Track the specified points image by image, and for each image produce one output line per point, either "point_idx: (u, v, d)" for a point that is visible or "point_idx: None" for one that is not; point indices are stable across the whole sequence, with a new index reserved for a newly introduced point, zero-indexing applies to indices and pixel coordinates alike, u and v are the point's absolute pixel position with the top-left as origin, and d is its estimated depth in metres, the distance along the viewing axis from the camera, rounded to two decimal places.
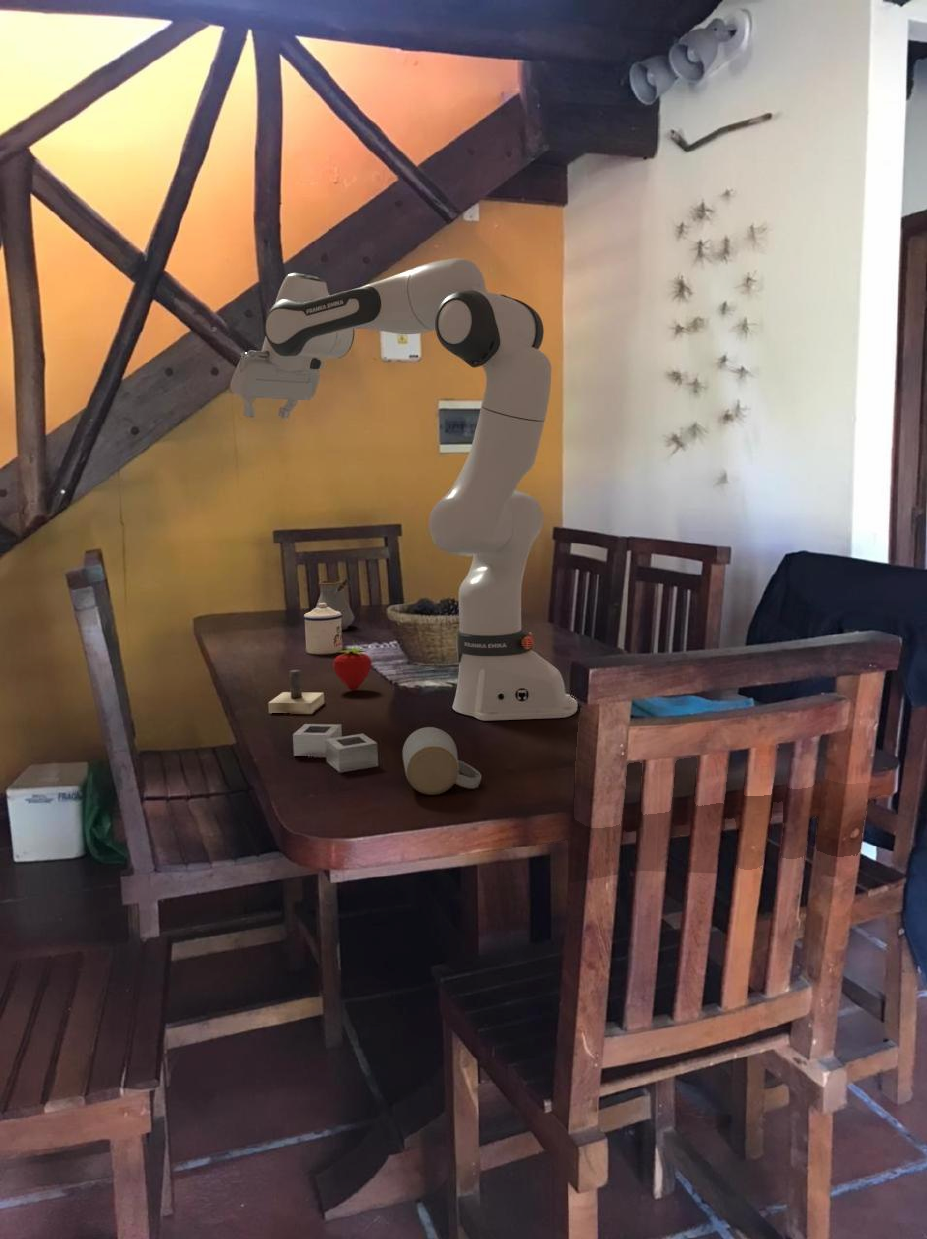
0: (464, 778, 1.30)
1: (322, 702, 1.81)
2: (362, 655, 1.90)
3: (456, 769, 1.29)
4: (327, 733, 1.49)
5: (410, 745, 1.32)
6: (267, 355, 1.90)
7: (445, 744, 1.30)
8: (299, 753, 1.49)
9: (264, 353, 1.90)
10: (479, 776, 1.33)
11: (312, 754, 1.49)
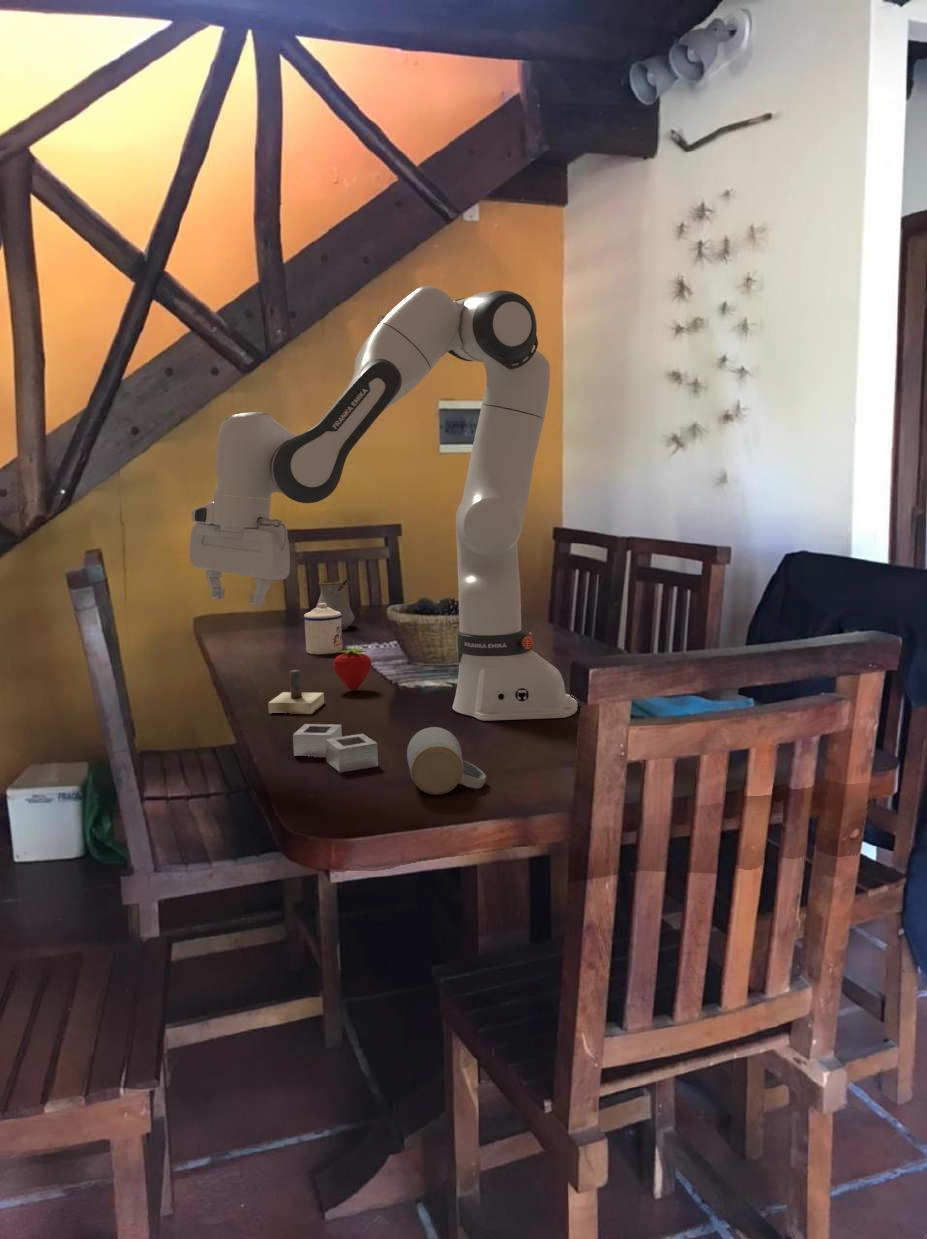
0: (469, 778, 1.30)
1: (322, 702, 1.81)
2: (362, 655, 1.90)
3: (461, 769, 1.29)
4: (327, 733, 1.49)
5: (415, 745, 1.32)
6: None
7: (450, 744, 1.30)
8: (299, 753, 1.49)
9: None
10: (483, 776, 1.33)
11: (312, 754, 1.49)
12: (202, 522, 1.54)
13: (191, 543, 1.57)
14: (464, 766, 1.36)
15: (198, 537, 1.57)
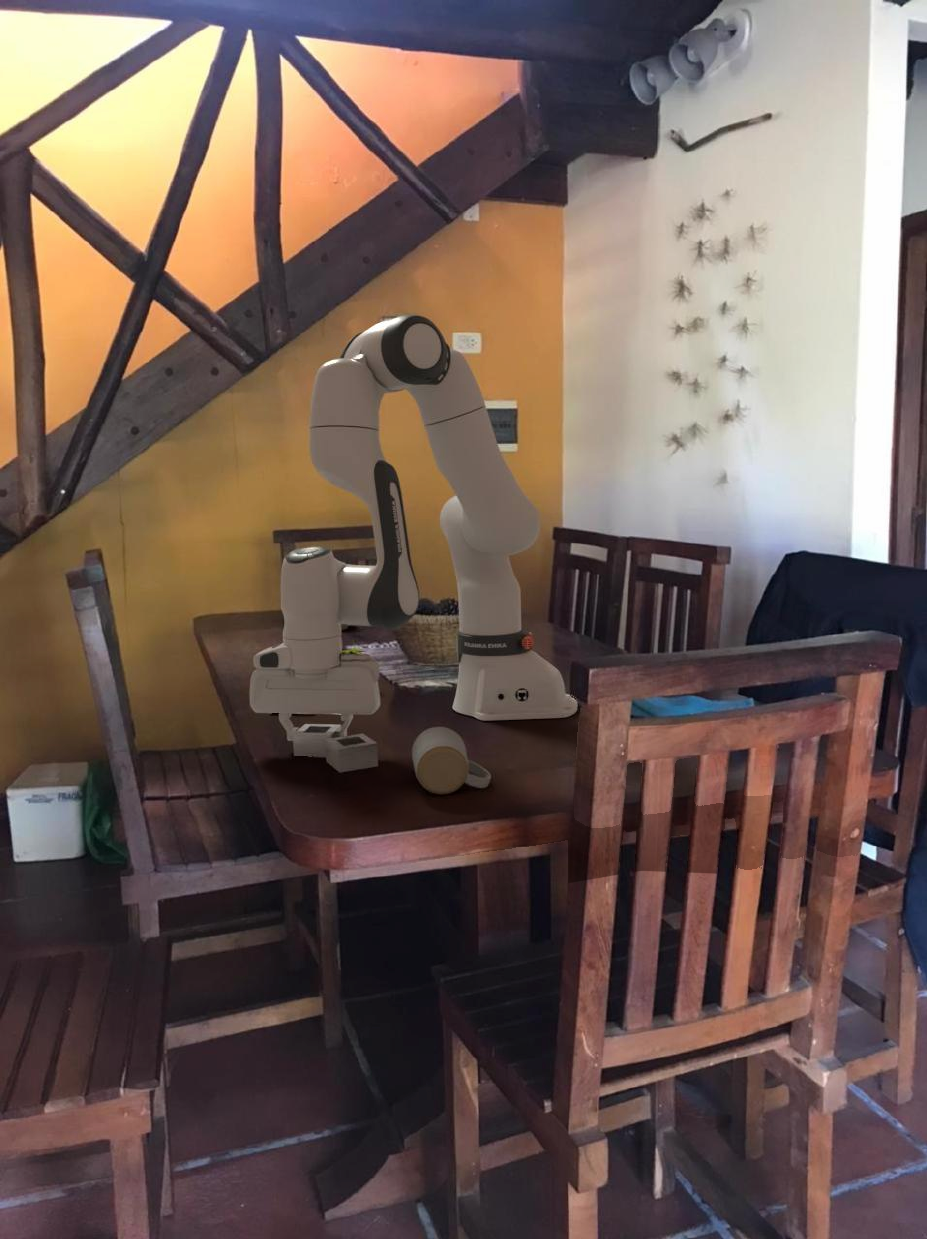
0: (474, 777, 1.30)
1: None
2: None
3: (466, 769, 1.29)
4: (327, 733, 1.49)
5: (420, 745, 1.32)
6: None
7: (455, 744, 1.30)
8: (299, 753, 1.49)
9: None
10: (489, 776, 1.34)
11: (312, 754, 1.49)
12: (272, 668, 1.47)
13: (253, 689, 1.49)
14: (469, 766, 1.36)
15: (262, 682, 1.49)
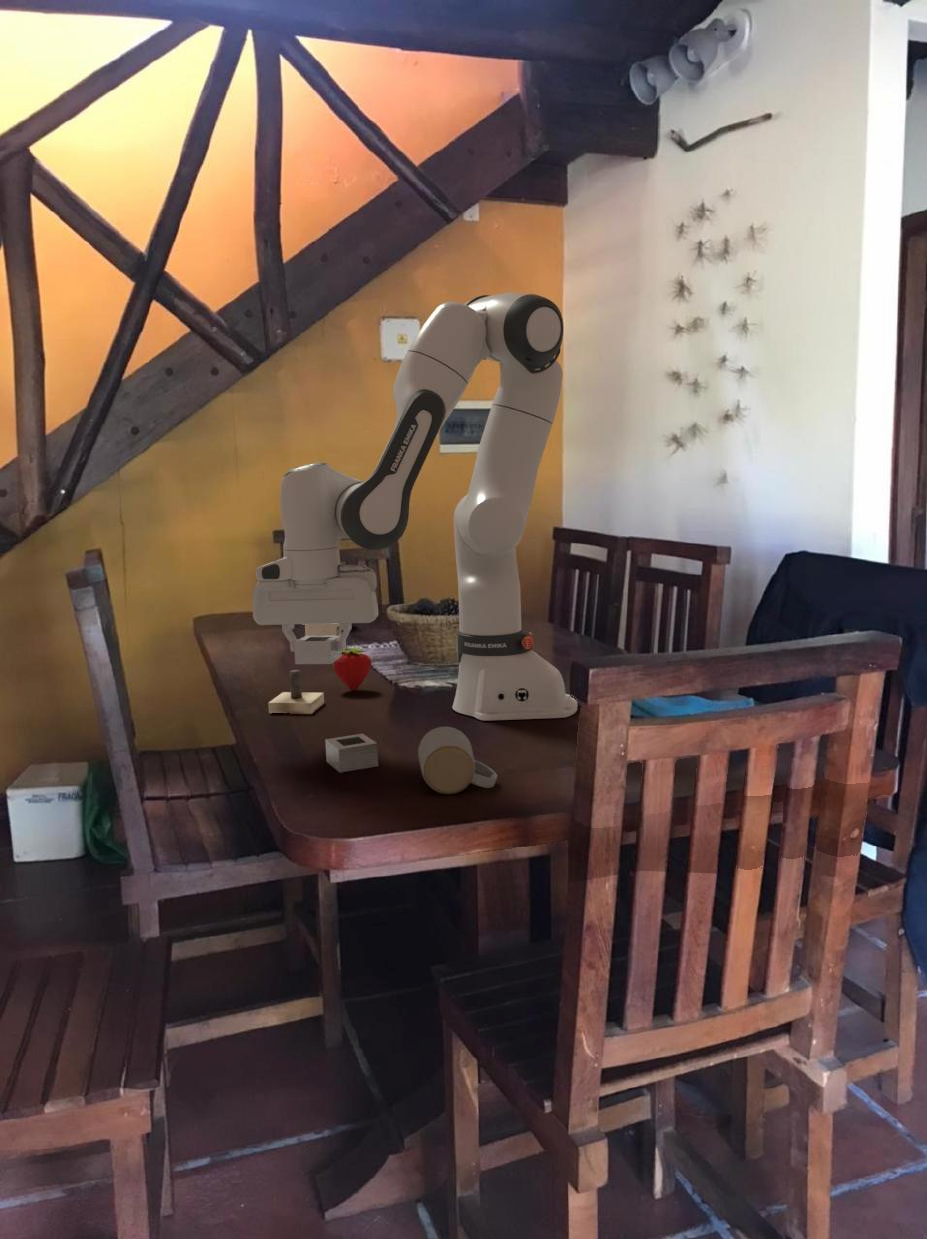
0: (481, 777, 1.31)
1: (322, 702, 1.81)
2: (362, 655, 1.90)
3: (472, 768, 1.29)
4: (327, 641, 1.55)
5: (426, 744, 1.32)
6: None
7: (461, 743, 1.31)
8: (300, 661, 1.55)
9: None
10: (495, 775, 1.34)
11: (313, 661, 1.55)
12: (274, 579, 1.53)
13: (255, 601, 1.55)
14: (475, 765, 1.36)
15: (264, 594, 1.55)
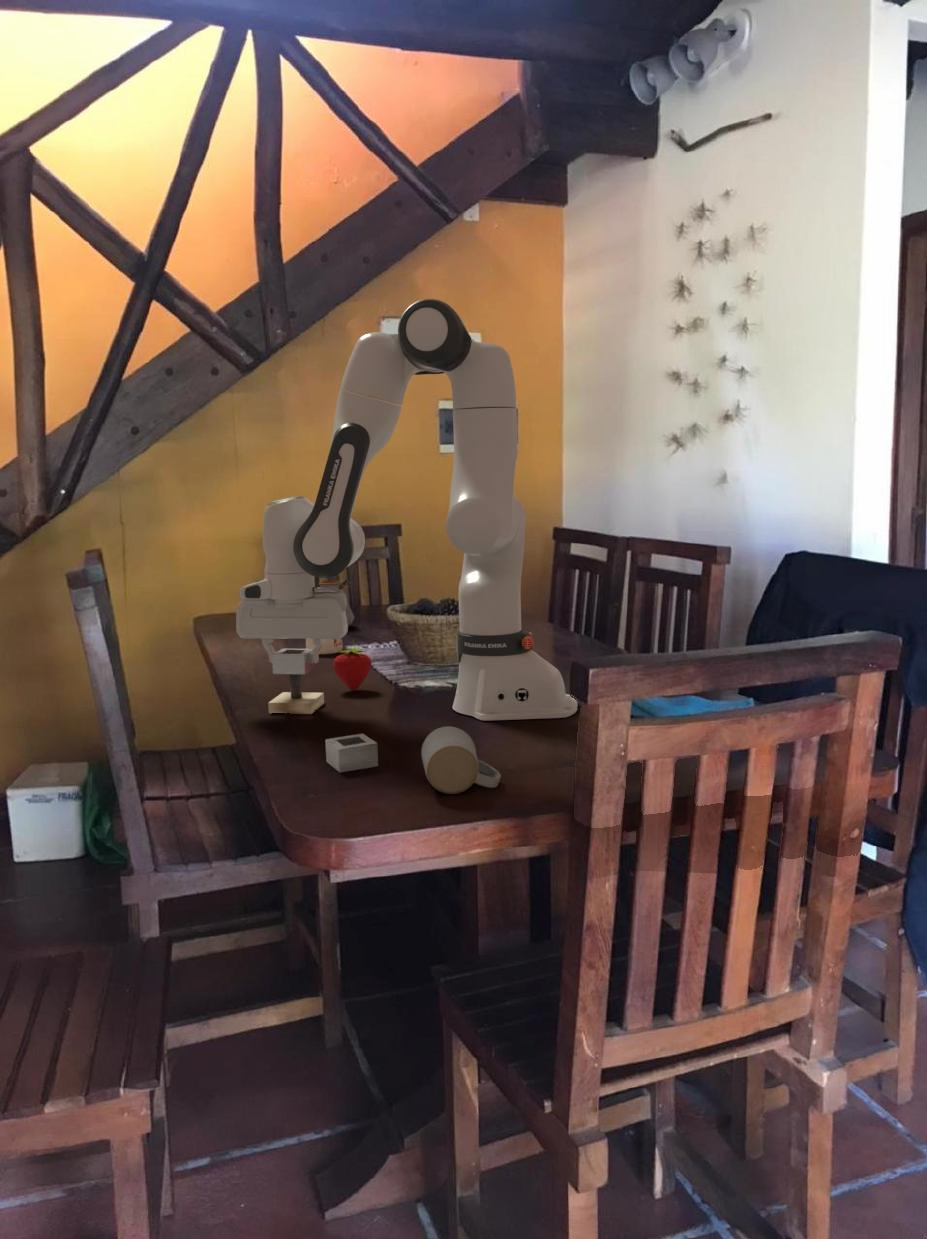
0: (484, 777, 1.31)
1: (322, 702, 1.81)
2: (362, 655, 1.90)
3: (476, 768, 1.29)
4: (301, 654, 1.74)
5: (429, 744, 1.32)
6: None
7: (465, 743, 1.31)
8: (277, 671, 1.75)
9: None
10: (498, 775, 1.34)
11: (288, 671, 1.74)
12: (255, 598, 1.73)
13: (239, 617, 1.75)
14: (478, 765, 1.36)
15: (246, 611, 1.75)
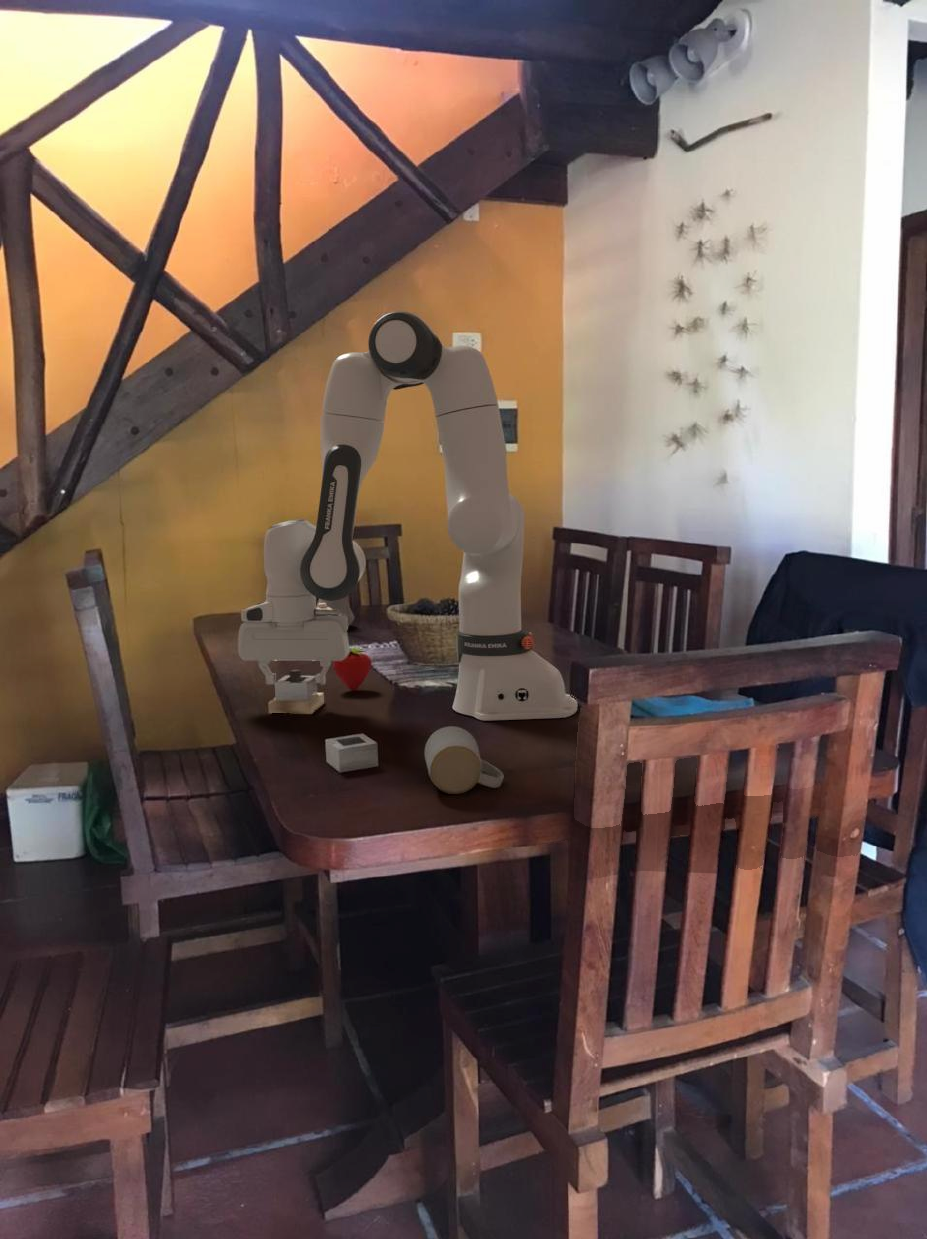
0: (487, 777, 1.31)
1: (322, 702, 1.81)
2: (362, 655, 1.90)
3: (479, 768, 1.29)
4: (303, 681, 1.75)
5: (433, 744, 1.32)
6: None
7: (468, 743, 1.31)
8: (280, 698, 1.76)
9: None
10: (501, 775, 1.34)
11: (291, 699, 1.75)
12: (257, 621, 1.74)
13: (241, 639, 1.76)
14: (482, 765, 1.36)
15: (248, 634, 1.76)
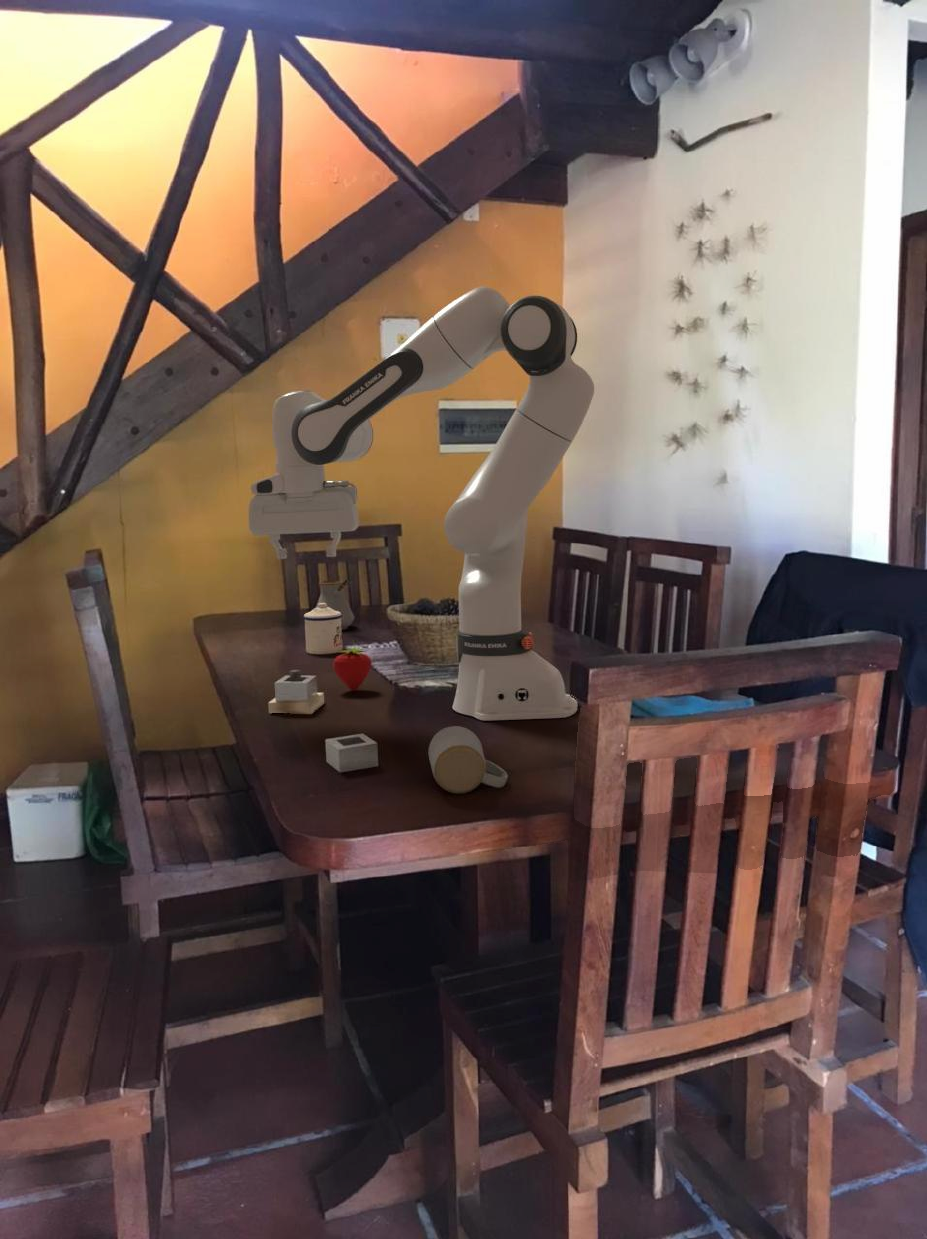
0: (491, 776, 1.31)
1: (322, 702, 1.81)
2: (362, 655, 1.90)
3: (483, 768, 1.30)
4: (303, 681, 1.75)
5: (437, 744, 1.32)
6: None
7: (472, 743, 1.31)
8: (280, 698, 1.76)
9: None
10: (505, 775, 1.34)
11: (291, 699, 1.75)
12: (267, 493, 1.75)
13: (251, 513, 1.77)
14: (485, 765, 1.36)
15: (259, 508, 1.77)
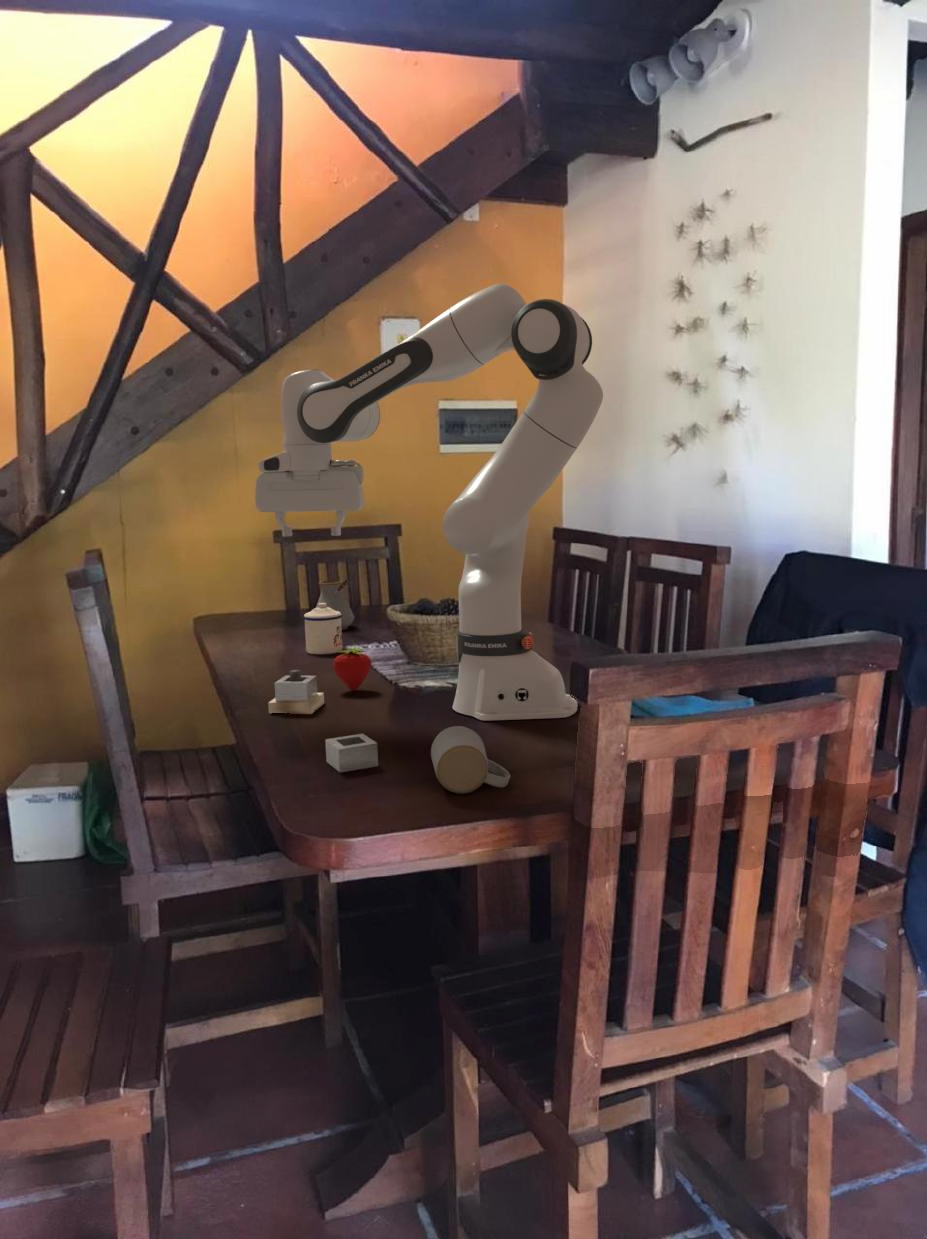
0: (494, 776, 1.31)
1: (322, 702, 1.81)
2: (362, 655, 1.90)
3: (486, 768, 1.30)
4: (303, 681, 1.75)
5: (439, 744, 1.32)
6: None
7: (474, 743, 1.31)
8: (280, 698, 1.76)
9: None
10: (508, 775, 1.34)
11: (291, 699, 1.75)
12: (274, 470, 1.77)
13: (258, 490, 1.79)
14: (488, 765, 1.36)
15: (265, 485, 1.79)
